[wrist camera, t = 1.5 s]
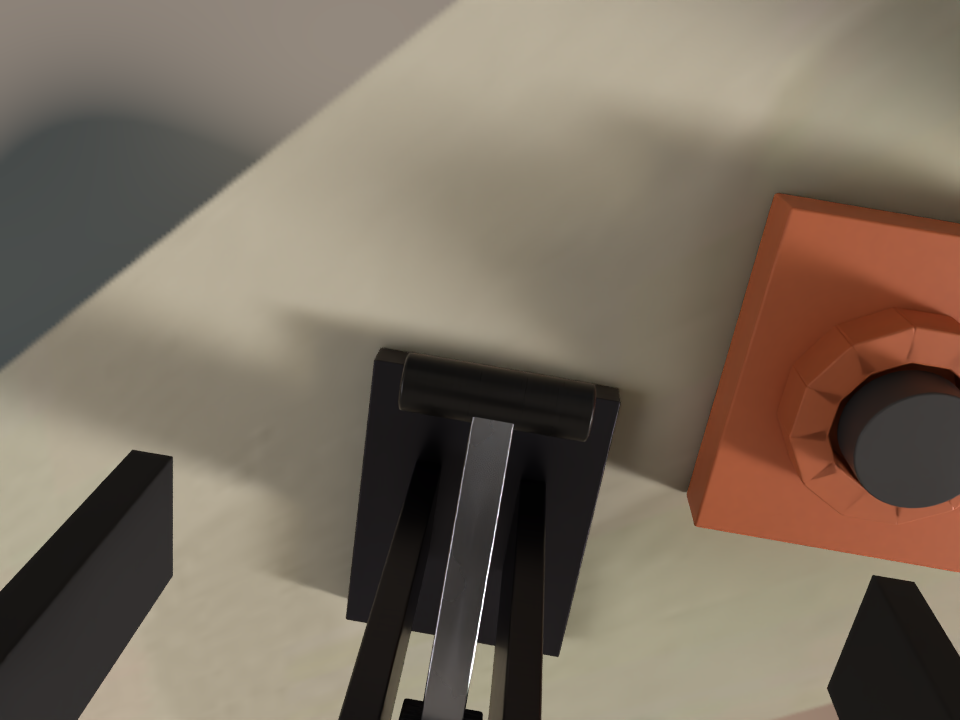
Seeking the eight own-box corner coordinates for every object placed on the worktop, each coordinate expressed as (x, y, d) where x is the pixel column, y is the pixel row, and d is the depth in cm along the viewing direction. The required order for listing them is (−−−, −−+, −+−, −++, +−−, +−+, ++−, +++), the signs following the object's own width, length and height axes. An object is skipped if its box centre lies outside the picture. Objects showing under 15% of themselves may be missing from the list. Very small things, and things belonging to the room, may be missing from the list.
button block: (774, 191, 28) (806, 221, 25) (1073, 242, 28) (1150, 279, 25) (685, 494, 33) (701, 557, 30) (941, 539, 33) (988, 607, 29)
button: (860, 359, 27) (879, 382, 25) (987, 380, 27) (1015, 405, 25) (820, 468, 28) (836, 497, 27) (940, 489, 28) (963, 519, 27)
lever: (412, 353, 24) (404, 350, 21) (590, 383, 24) (601, 384, 21) (336, 789, 24) (319, 835, 21) (516, 821, 23) (518, 871, 21)
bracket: (380, 346, 32) (249, 610, 18) (618, 388, 32) (664, 683, 18) (351, 600, 37) (231, 957, 23) (558, 637, 37) (559, 1018, 23)
